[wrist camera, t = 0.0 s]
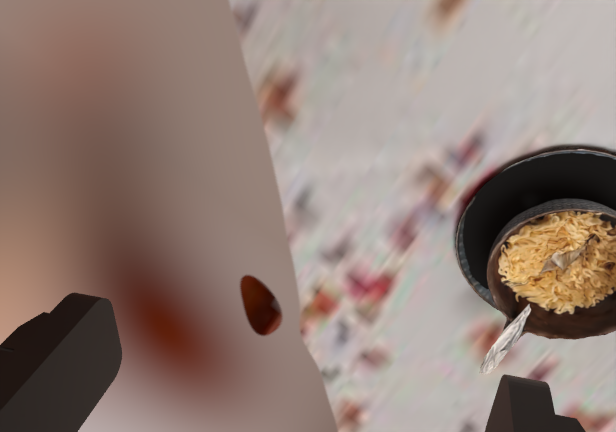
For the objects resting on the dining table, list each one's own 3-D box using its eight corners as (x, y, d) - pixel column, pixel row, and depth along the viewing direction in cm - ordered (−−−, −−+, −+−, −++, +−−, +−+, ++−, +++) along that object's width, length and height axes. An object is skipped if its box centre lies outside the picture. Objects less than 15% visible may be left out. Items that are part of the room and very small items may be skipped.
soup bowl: (705, 274, 39) (752, 345, 33) (496, 339, 46) (503, 407, 40) (625, 104, 34) (664, 150, 28) (408, 207, 42) (400, 261, 35)
